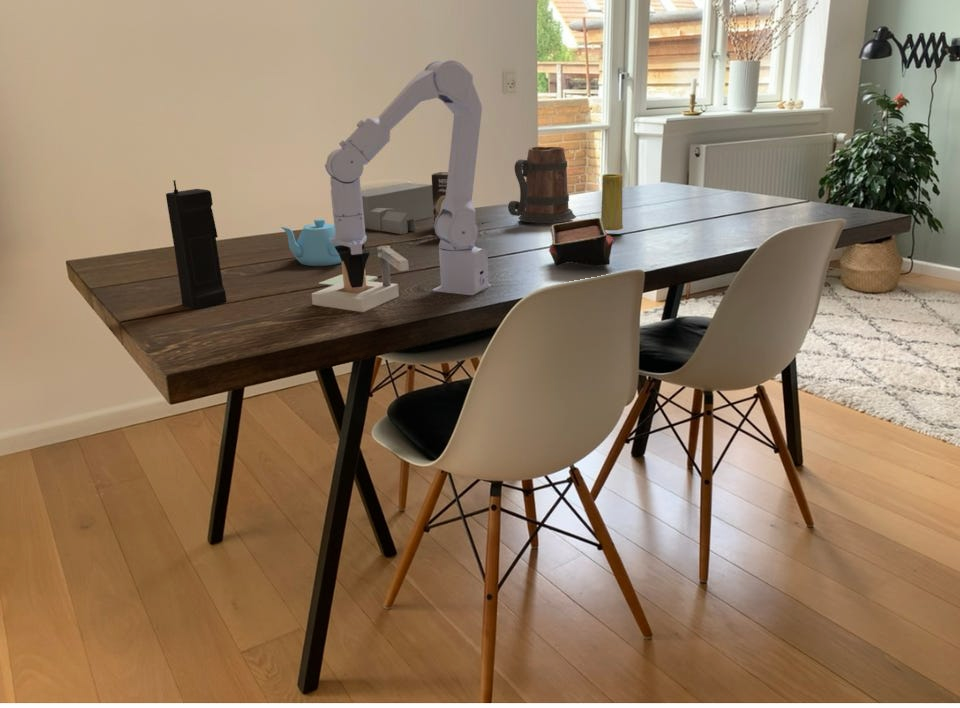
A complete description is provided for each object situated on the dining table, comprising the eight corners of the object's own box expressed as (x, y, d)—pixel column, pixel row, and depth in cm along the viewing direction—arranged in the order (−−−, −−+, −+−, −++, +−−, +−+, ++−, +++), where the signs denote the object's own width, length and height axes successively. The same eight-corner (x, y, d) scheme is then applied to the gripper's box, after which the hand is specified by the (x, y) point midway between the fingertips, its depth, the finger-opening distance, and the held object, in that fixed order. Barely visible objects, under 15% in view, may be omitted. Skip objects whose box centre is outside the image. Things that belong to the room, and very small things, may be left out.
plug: (372, 299, 161) (368, 259, 158) (358, 304, 157) (355, 264, 155) (354, 296, 163) (350, 257, 160) (340, 302, 159) (336, 262, 157)
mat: (377, 278, 177) (377, 276, 176) (352, 289, 169) (352, 286, 169) (344, 275, 181) (344, 273, 181) (318, 285, 173) (318, 282, 173)
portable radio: (215, 300, 165) (196, 174, 157) (233, 304, 162) (214, 176, 153) (180, 309, 160) (159, 180, 151) (198, 314, 156) (176, 181, 148)
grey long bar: (376, 255, 160) (376, 246, 159) (388, 254, 160) (388, 245, 160) (398, 271, 146) (397, 261, 145) (410, 269, 147) (410, 260, 146)
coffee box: (433, 234, 222) (430, 174, 216) (441, 230, 227) (438, 171, 222) (465, 235, 219) (462, 174, 213) (472, 230, 225) (470, 171, 219)
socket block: (398, 296, 162) (396, 256, 160) (363, 312, 152) (359, 270, 150) (350, 290, 168) (346, 252, 165) (312, 306, 158) (308, 265, 155)
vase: (599, 230, 218) (599, 176, 213) (601, 226, 223) (601, 173, 219) (622, 230, 216) (623, 176, 212) (623, 226, 222) (624, 173, 217)
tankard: (545, 210, 251) (544, 144, 245) (587, 216, 240) (588, 146, 233) (490, 222, 236) (487, 151, 230) (532, 228, 225) (531, 154, 218)
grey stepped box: (401, 241, 216) (398, 200, 212) (345, 232, 231) (341, 193, 227) (465, 226, 233) (463, 187, 230) (409, 218, 248) (407, 182, 245)
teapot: (304, 256, 203) (299, 214, 199) (363, 254, 201) (359, 213, 198) (285, 269, 189) (279, 225, 186) (348, 268, 187) (343, 224, 184)
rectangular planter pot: (547, 281, 181) (546, 239, 175) (551, 246, 196) (550, 207, 190) (613, 280, 179) (614, 238, 173) (612, 246, 194) (613, 206, 188)
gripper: (322, 210, 160) (330, 277, 164) (331, 222, 147) (339, 295, 151) (358, 207, 162) (364, 274, 166) (370, 218, 149) (376, 290, 153)
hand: (355, 283), depth 159 cm, fingers closed on plug, 4 cm apart
